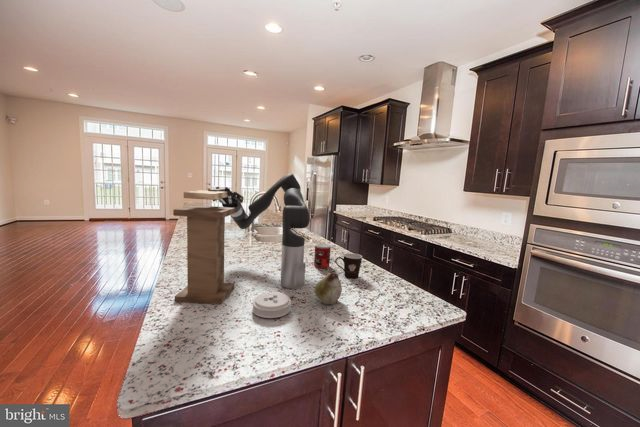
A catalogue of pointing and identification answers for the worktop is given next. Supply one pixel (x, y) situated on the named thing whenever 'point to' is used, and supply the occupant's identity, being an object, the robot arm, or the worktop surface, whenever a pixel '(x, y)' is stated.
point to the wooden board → (206, 194)
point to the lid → (271, 305)
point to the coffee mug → (351, 265)
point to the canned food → (322, 256)
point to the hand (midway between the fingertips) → (221, 189)
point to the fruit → (328, 289)
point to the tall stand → (205, 254)
